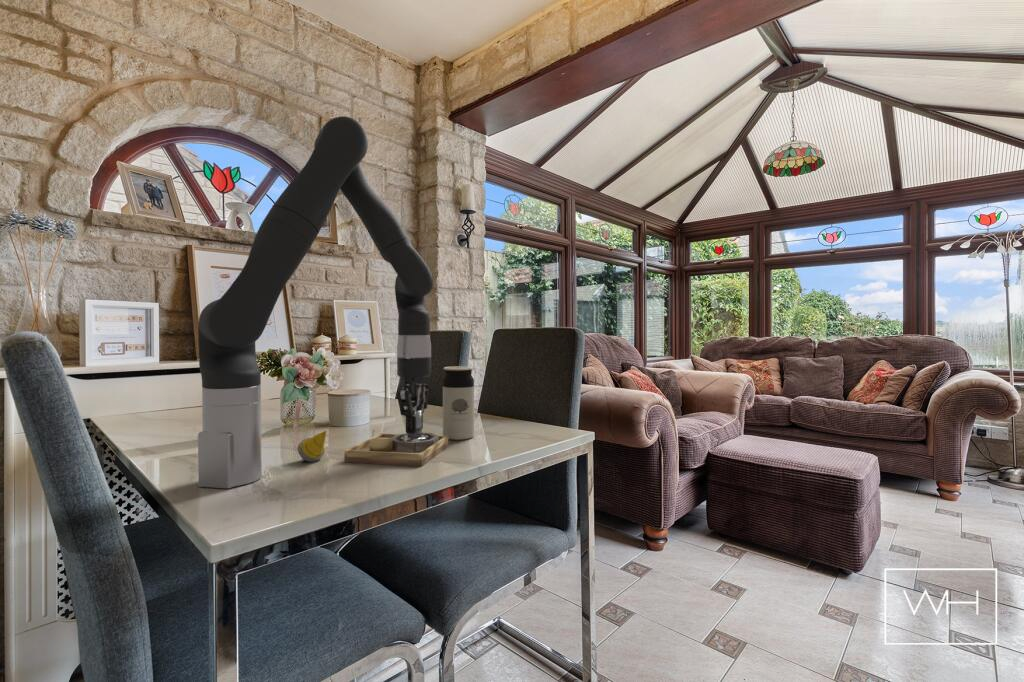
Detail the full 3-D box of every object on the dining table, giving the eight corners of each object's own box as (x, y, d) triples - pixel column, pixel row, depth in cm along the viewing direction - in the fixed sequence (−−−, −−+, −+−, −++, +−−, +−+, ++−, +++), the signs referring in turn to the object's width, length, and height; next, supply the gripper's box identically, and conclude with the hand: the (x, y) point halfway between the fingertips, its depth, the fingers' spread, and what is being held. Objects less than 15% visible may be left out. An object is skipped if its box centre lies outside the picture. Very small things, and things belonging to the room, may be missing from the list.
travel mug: (445, 433, 127) (445, 366, 127) (475, 433, 127) (475, 366, 127) (440, 440, 119) (440, 368, 119) (471, 440, 119) (471, 368, 119)
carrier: (422, 466, 97) (422, 448, 97) (344, 462, 100) (344, 444, 100) (448, 446, 113) (448, 431, 113) (381, 443, 116) (381, 428, 116)
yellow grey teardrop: (320, 457, 105) (342, 430, 101) (309, 474, 100) (331, 446, 96) (299, 444, 104) (320, 415, 100) (286, 460, 99) (308, 431, 95)
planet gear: (421, 447, 105) (421, 413, 105) (397, 446, 106) (396, 412, 106) (431, 441, 111) (431, 408, 111) (407, 440, 112) (407, 408, 112)
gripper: (410, 353, 116) (410, 424, 116) (384, 356, 102) (385, 437, 102) (440, 354, 114) (440, 426, 115) (418, 357, 100) (418, 439, 101)
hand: (414, 431), depth 108 cm, fingers open, 3 cm apart
